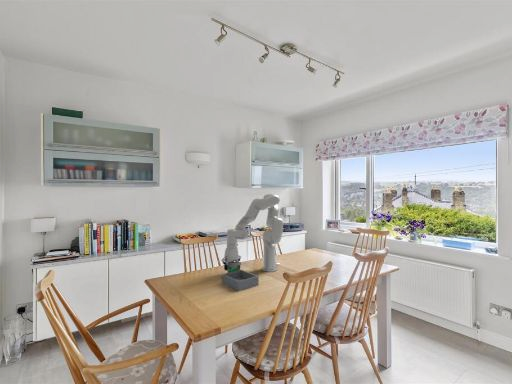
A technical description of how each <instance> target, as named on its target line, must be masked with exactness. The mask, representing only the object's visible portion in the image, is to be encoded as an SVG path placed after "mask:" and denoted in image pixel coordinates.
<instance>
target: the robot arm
mask: <svg viewBox="0 0 512 384" xmlns="http://www.w3.org/2000/svg"><path fill="white" fill-rule="evenodd" d="M279 203H280V196H278V195H277V194H270V193H267V194H264V195H263V197H262V198H254V199H253V200H252V201H251V203H250V205H249V207H248V209H247V211H246V213H245V215H244V216H242V217H241V218H240V220H238V223H237V224H236V226H235V228H234V229H233V228H230V229H228V230H227V231H226V247H225V250H224V257H223V258H222V259H221V262H222V264H223V267H224V268H223V269H224V271H226V272H228V265H227V264H228V262H237V263H238V262H241V258H242V256H241V255H239V249H238V246H239V244H238V240H246V239H247V238H248V237H249V232H248V231H247V230H246V227H247V226H248V225H250V224H251V223H253V222H254V221H255V220H256V219H257V217H258V215H259V213H260V211H265V210H267V217H266V226H267V228H268V229H266V230H264V231H263V233H262V242H263V266H261V270H262V271H264V272H269V273H271V272H272V273H273V272H277V271H278V266H280V263H279V262H277V263H276V250H277V248H276V245H277V244H279V243H280V242H281V240H282V236H283V231H284V222H283V220H282V218H280V217H279V211H280V210H279V206H278V205H279Z"/></svg>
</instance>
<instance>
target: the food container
mask: <svg viewBox="0 0 512 384" xmlns="http://www.w3.org/2000/svg"><path fill="white" fill-rule="evenodd" d="M227 265H228V270H227V273H230V272H235V271H239V270H241V265H242V262H241V261H239V262H238V263H237V262H235V261H234V262H228V264H227Z"/></svg>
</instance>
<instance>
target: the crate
mask: <svg viewBox="0 0 512 384" xmlns="http://www.w3.org/2000/svg"><path fill="white" fill-rule="evenodd" d="M221 275H222V277H221V281H222V283H221V284H223V285H225V286H227V287H229V288H231V289H233V290H236V291H238V292H242V291H243V290H247V289H250V288H253V287H256V286H259V275H256V274H254V273H251V272H248V271H245V270H243V269H240V270H239V271H235V272H230V273H228V272H227V273H224V274H221Z"/></svg>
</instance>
